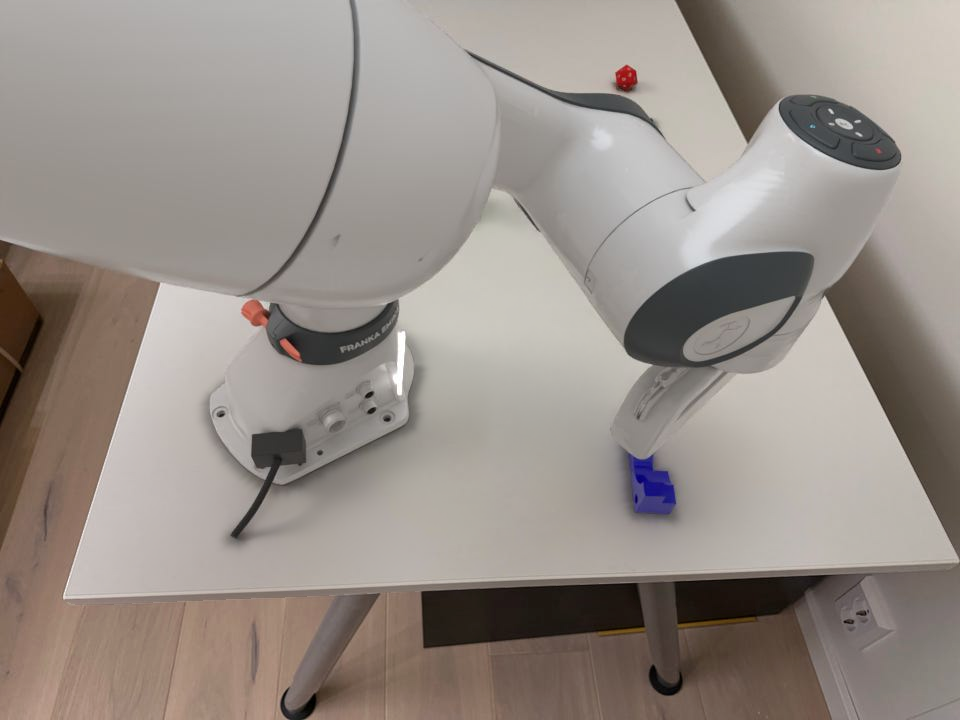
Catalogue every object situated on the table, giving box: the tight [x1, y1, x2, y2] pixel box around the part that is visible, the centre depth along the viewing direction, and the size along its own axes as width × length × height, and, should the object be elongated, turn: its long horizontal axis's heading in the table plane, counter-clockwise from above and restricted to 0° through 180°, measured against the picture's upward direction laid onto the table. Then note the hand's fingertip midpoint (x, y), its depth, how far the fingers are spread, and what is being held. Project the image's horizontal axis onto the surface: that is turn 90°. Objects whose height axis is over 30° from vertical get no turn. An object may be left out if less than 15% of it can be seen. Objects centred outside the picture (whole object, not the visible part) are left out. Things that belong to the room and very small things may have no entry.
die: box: [614, 64, 639, 92], centre depth 111 cm, size 4×3×4 cm
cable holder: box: [627, 451, 677, 515], centre depth 69 cm, size 8×4×4 cm, turn 179°
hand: (683, 409), depth 60 cm, fingers open, 8 cm apart
